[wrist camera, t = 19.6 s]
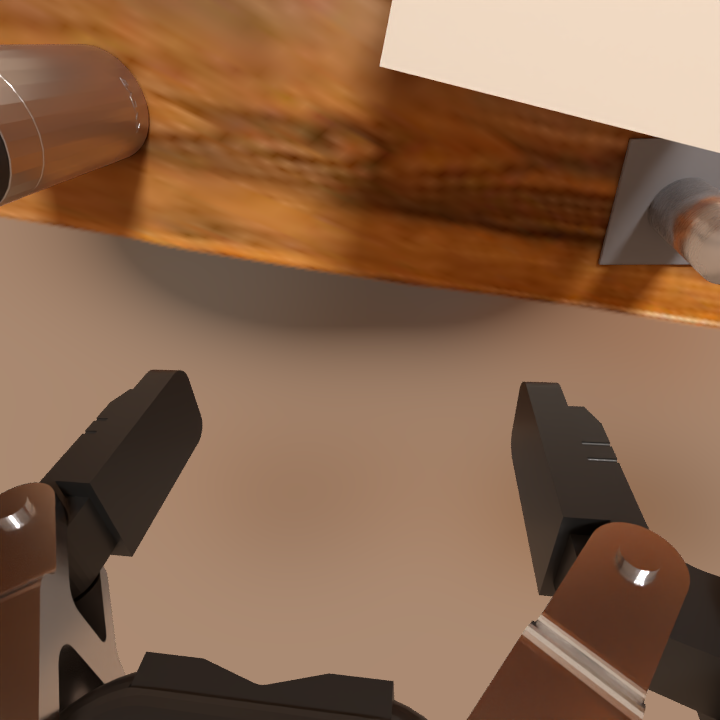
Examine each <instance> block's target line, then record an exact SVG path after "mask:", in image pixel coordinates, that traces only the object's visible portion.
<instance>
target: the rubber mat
mask: <svg viewBox="0 0 720 720" xmlns="http://www.w3.org/2000/svg"><path fill="white" fill-rule="evenodd" d="M684 178H698V179H701V180H704V181H705V182H707V183H709V184H710V185H712V186H714V187H715V188H717V189H719V190H720V153H718V152H714V151H710V150H706V149H702V148H698V147H694V146H690V145H686V144H682V143H678V142H675V141H671V140H667V139H663V138H637V139H630V140H629V144H628V148H627V152H626V156H625V160H624V164H623V168H622V172H621V175H620V179H619V183H618V187H617V191H616V195H615V199H614V203H613V207H612V211H611V215H610V219H609V223H608V227H607V231H606V235H605V239H604V243H603V247H602V251H601V255H600V259H599V264H600V265H632V264H689V263H688V262H687V261H686V260H685V259H684V258H683V257H682V256H681V255H680V254H679V253H678V252H677V251H676V250H675V249H674V248H673V247H672V246H671V245H670V244H669V243H668V242H667V241H666V240H665V239H664V238H663V237H662V236H661V235H660V234H659V233H658V232H657V231H656V230H655V229H654V228H653V227H652V226H651V224H650V222H649V217H648V215H649V208H650V205H651V203H652V201H653V200H654V198H655V197H656V195H657V194H658V193H659V192H660V191H661V190H662V189H663V188H665V187H666V186H667V185H669V184H671V183H673V182H675V181H677V180H680V179H684Z"/></svg>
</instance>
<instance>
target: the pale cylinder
mask: <svg viewBox="0 0 720 720" xmlns="http://www.w3.org/2000/svg"><path fill="white" fill-rule="evenodd" d="M648 217H649V222H650V224H651V226H652V227H653V228H654V229H655V230H656V231H657V232H658V233H659V234H660V235H661V236H662V237H663V238H664V239H665V240H666V241H667V242H668V243H669V244H670V245H671V246H672V247H673V248H674V249H675V250H676V251H677V252H678V253H679V254H680V255H681V256H682V257H683V258H684V259H685V260H686V261H687V262H688V263H689V264H690V265H691V266H692V267H693V268H694V269H695V270H696V271H697V272H698V273H699V274H700V275H701V276H702V277H703V278H705V279H706V280H707V281H709V282H711V283H714V284H720V190H719V189H717V188H715V187H714V186H712V185H710V184H709V183H707V182H705V181H704V180H701V179H698V178H684V179H680V180H677V181H675V182H673V183H671V184H669V185H667V186H666V187H665V188H663V189H662V190H661V191H660V192H659V193H658V194H657V195H656V197H655V198H654V200H653V201H652V203H651V205H650V208H649V215H648Z"/></svg>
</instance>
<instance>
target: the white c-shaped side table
mask: <svg viewBox="0 0 720 720" xmlns="http://www.w3.org/2000/svg"><path fill="white" fill-rule="evenodd" d="M380 67H384V68H388V69H392V70H396V71H400V72H404V73H408V74H412V75H416V76H420V77H424V78H428V79H431V80H435V81H439V82H443V83H447V84H451V85H455V86H459V87H463V88H467V89H471V90H475V91H479V92H482V93H486V94H490V95H494V96H498V97H502V98H506V99H510V100H514V101H518V102H522V103H526V104H529V105H533V106H537V107H541V108H545V109H549V110H553V111H557V112H561V113H565V114H569V115H573V116H577V117H580V118H584V119H588V120H592V121H596V122H600V123H604V124H608V125H612V126H616V127H620V128H624V129H627V130H631V131H635V132H639V133H643V134H647V135H651V136H655V137H659V138H663V139H667V140H671V141H675V142H678V143H682V144H686V145H690V146H694V147H698V148H702V149H706V150H710V151H714V152H718V153H720V0H392V5H391V10H390V15H389V20H388V25H387V31H386V36H385V41H384V46H383V51H382V56H381V61H380Z"/></svg>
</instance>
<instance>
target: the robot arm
mask: <svg viewBox="0 0 720 720" xmlns="http://www.w3.org/2000/svg"><path fill="white" fill-rule="evenodd" d="M148 128H149V114H148V109H147V104H146V101H145V98H144V95H143V93H142V90H141V88H140V87H139V85H138V83H137V81H136V79H135V78H134V77H133V75H132V74H131V73H130V71H129V70H128V69H127V68H126V67H125V66H124V65H123V64H122V63H121V62H120V61H119V60H118V59H117V58H116V57H114V56H113V55H111V54H110V53H108V52H107V51H105V50H102V49H100V48H98V47H95V46H90V45H84V44H78V45H55V44H47V45H0V206H2V205H4V204H7V203H10V202H12V201H15V200H18V199H20V198H22V197H25V196H27V195H30V194H33V193H35V192H38V191H40V190H43V189H46V188H48V187H51V186H54V185H56V184H59V183H61V182H64V181H67V180H69V179H72V178H75V177H77V176H80V175H82V174H85V173H88V172H90V171H93V170H96V169H98V168H101V167H104V166H107V165H109V164H112V163H114V162H117V161H120V160H122V159H125V158H127V157H130V156H132V155H133V154H135V153H136V152H137V151H138V150H139V149H140V148H141V147H142V146H143V144H144V141H145V139H146V137H147V133H148ZM201 433H202V418H201V414H200V411H199V408H198V405H197V402H196V400H195V396H194V393H193V390H192V387H191V385H190V381H189V379H188V377H187V374H186V373H185V372H184V371H180V370H178V371H177V370H150V371H149V372H148V373H147V374H146V375H145V376H144V377H143V378H142V380H141V381H140V382H139V383H138V384H137V385H136V386H135V388H134V389H130V390H128V391H127V392H125V393H124V394H122V395H121V396H119V397H118V398H116V399H115V400H113V401H112V402H110V403H109V404H108V406H107V407H106V408H105V409H104V410H103V411H102V412H101V413H100V415H99V416H98V417H97V421H93V423H92V424H91V425H90V426H89V427H88V428H87V429H86V433H85V434H82V435H81V436H80V437H79V438H78V439H77V441H76V442H75V443H74V444H73V445H72V446H71V447H70V448H69V450H68V451H67V452H66V453H65V454H64V455H63V456H62V457H61V459H60V460H59V461H58V462H57V463H56V464H55V465H54V467H53V468H52V469H51V470H50V471H49V472H48V473H47V474H46V476H45V477H44V478H43V479H42V480H41V481H40V482H39V483H37V482H35V483H28V484H23V485H19V486H16V487H14V488H12V489H9V490H7V491H5V492H3V493H1V494H0V720H427V719H426V718H425V717H424V716H422V715H420V714H419V713H417V712H416V711H414V710H412V709H411V708H410V707H408V706H406V705H403V704H402V703H399V702H397V701H395V700H394V684H393V681H387V680H379V679H370V678H362V677H353V676H345V675H336V674H324V675H319V676H313V677H308V678H302V679H297V680H291V681H286V682H279V683H274V684H268V685H258V684H255V683H253V682H251V681H249V680H247V679H245V678H242V677H240V676H238V675H236V674H234V673H232V672H230V671H228V670H226V669H224V668H222V667H220V666H218V665H216V664H214V663H212V662H210V661H208V660H206V659H202V658H194V657H186V656H178V655H169V654H161V653H152V652H146V654H145V656H144V658H143V660H142V662H141V664H140V667H139V669H138V671H137V672H134V673H131V674H128V675H125V672H124V670H123V667H122V665H121V663H120V660H119V657H118V653H117V649H116V642H115V634H114V625H113V618H112V609H111V601H110V592H109V584H108V577H107V572H106V570H105V568H104V564H105V562H106V561H107V559H108V557H109V556H110V555H121V556H131V557H132V556H133V554H134V553H135V551H136V549H137V547H138V546H139V544H140V542H141V541H142V539H143V537H144V535H145V534H146V532H147V530H148V528H149V527H150V525H151V523H152V521H153V520H154V518H155V516H156V515H157V513H158V511H159V509H160V508H161V506H162V504H163V503H164V501H165V499H166V497H167V496H168V494H169V492H170V490H171V488H172V487H173V485H174V484H175V482H176V480H177V478H178V477H179V475H180V473H181V471H182V470H183V468H184V466H185V465H186V463H187V461H188V459H189V458H190V456H191V454H192V452H193V451H194V449H195V447H196V446H197V444H198V442H199V440H200V437H201ZM511 450H512V459H513V465H514V470H515V475H516V480H517V485H518V490H519V495H520V501H521V506H522V511H523V516H524V521H525V526H526V531H527V536H528V542H529V546H530V551H531V556H532V562H533V567H534V572H535V577H536V582H537V587H538V592H539V595H544V596H553V597H552V598H551V600H550V602H549V603H548V605H547V606H546V608H545V610H544V611H543V613H542V614H541V616H540V617H539V618H538V620H537V621H536V622H534V621H532V622H531V623H530V624H529V625H528V627H527V628H526V629H525V630H524V632H523V634H522V635H521V636H520V638H519V639H518V641H517V642H516V644H515V645H514V647H513V648H512V650H511V652H510V653H509V655H508V656H507V658H506V659H505V661H504V663H503V664H502V666H501V667H500V669H499V670H498V672H497V674H496V675H495V676H494V678H493V680H492V681H491V683H490V685H489V686H488V687H487V689H486V690H485V692H484V694H483V695H482V697H481V698H480V700H479V701H478V703H477V705H476V706H475V707H474V709H473V711H472V712H471V714H470V715H469V717H468V718H467V720H642V718H643V715H644V711H645V704H644V699H645V696H646V693H647V691H648V689H649V690H651V691H654V692H656V693H658V694H660V695H662V696H665V697H667V698H669V699H671V700H674V701H676V702H678V703H680V704H682V705H685V706H687V707H689V708H691V709H694V710H696V711H697V713H698V716H699V719H700V720H720V577H718V576H716V575H713V574H710V573H707V572H704V571H702V570H699V569H697V568H695V567H693V566H691V565H689V564H687V563H685V562H684V560H683V558H682V557H681V555H680V554H679V553H678V552H677V550H676V549H675V548H674V547H673V546H672V545H671V544H670V543H669V542H667V541H666V540H665V539H664V538H662V537H661V536H659V535H658V534H656V533H654V532H653V531H651V530H649V528H648V526H647V524H646V522H645V520H644V518H643V515H642V513H641V511H640V509H639V507H638V504H637V502H636V500H635V498H634V495H633V493H632V491H631V489H630V486H629V484H628V482H627V480H626V478H625V475H624V473H623V471H622V469H621V466H620V464H619V463H617V457H616V455H615V453H614V451H613V449H612V447H610V442H609V440H608V437H607V435H606V433H605V431H604V428H603V426H602V424H601V423H600V422H599V421H598V420H597V419H596V418H595V417H594V416H593V415H592V414H591V413H590V412H588V410H587V409H586V408H585V407H577V406H576V407H575V406H568V405H567V402H566V400H565V397H564V395H563V392H562V390H561V387H560V385H559V384H558V383H547V382H522V384H521V386H520V390H519V396H518V401H517V407H516V413H515V419H514V424H513V430H512V438H511Z"/></svg>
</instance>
